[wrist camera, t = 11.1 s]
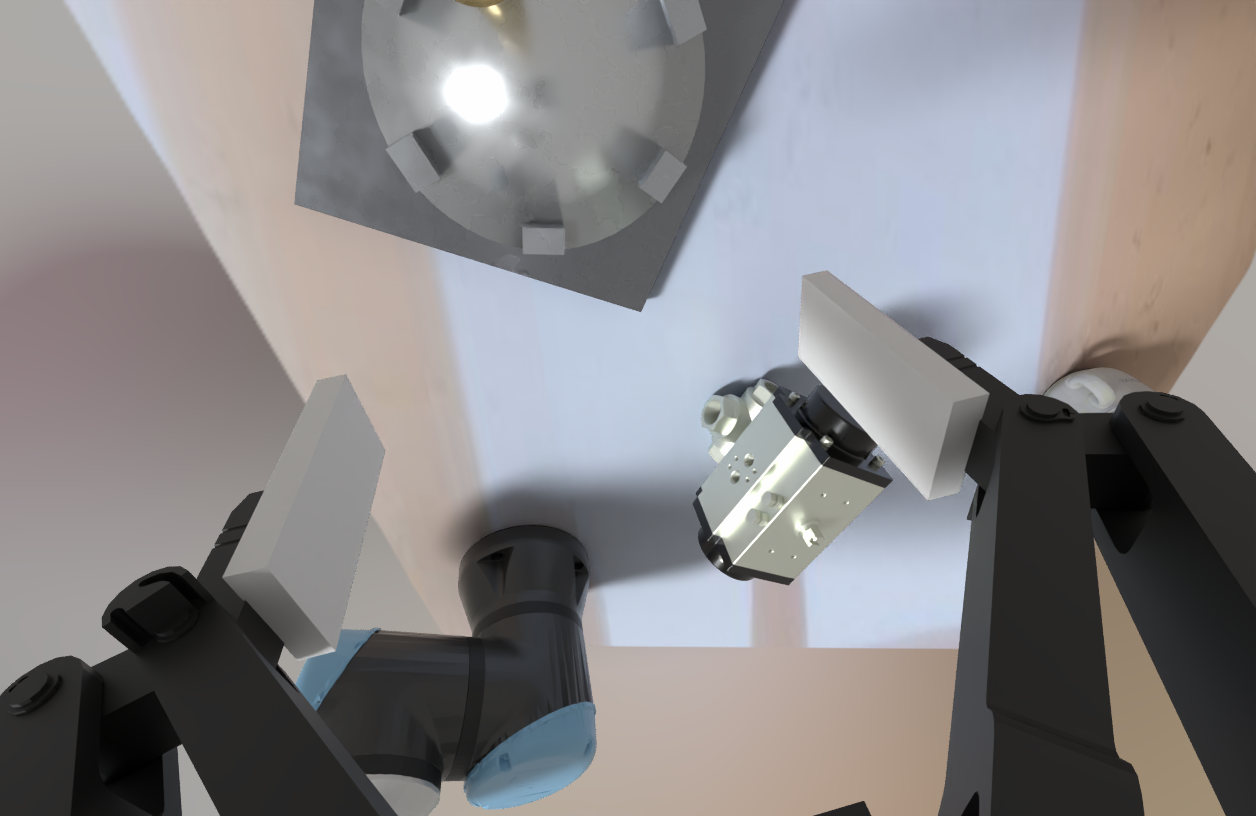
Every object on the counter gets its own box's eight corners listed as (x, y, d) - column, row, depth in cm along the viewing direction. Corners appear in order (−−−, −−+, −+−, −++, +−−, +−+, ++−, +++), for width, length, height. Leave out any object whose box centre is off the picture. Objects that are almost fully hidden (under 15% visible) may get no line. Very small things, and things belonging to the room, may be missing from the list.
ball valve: (754, 324, 52) (848, 444, 38) (819, 355, 56) (927, 475, 42) (657, 461, 60) (706, 602, 46) (719, 480, 64) (782, 616, 50)
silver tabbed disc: (752, 34, 36) (911, 59, 22) (586, 282, 44) (627, 415, 30) (465, -248, 27) (429, -507, 13) (320, 129, 35) (203, 219, 21)
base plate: (636, 301, 49) (642, 315, 47) (302, 195, 39) (291, 206, 37) (794, -52, 36) (812, -55, 34) (358, -337, 26) (346, -364, 24)
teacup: (1108, 402, 69) (1170, 443, 62) (1022, 444, 70) (1074, 488, 64) (1111, 317, 60) (1182, 355, 54) (1014, 367, 62) (1072, 410, 56)
